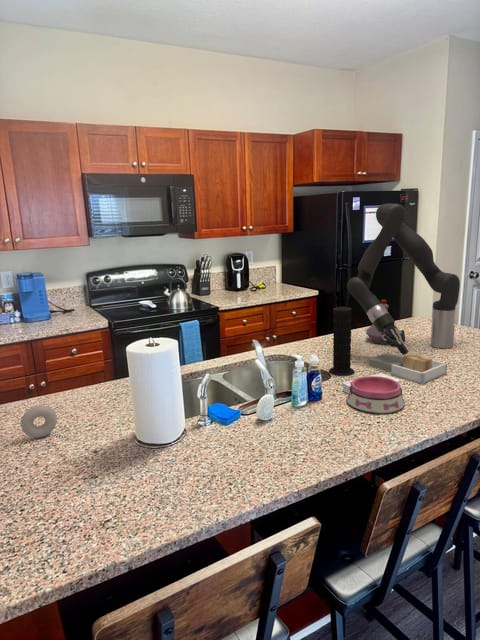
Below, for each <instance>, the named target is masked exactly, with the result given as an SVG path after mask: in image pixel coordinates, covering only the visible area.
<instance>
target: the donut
mask: <svg viewBox="0 0 480 640" xmlns="http://www.w3.org/2000/svg"><path fill="white" fill-rule="evenodd" d="M37 418H43V419H44V420H45V421H44V423H43V424H42V425H39V426H38V425H35V424H34V422H35V420H36V419H37ZM57 423H58V416H57V412H55V410H54V409H53V408H52V407H50V406H49V405H44V404H43V405H42V404H41V405H35V406H33V407H30V408H29V409H28V410H26V411H25V413H24V414H23V415H22V417H21V420H20V428H21V431H22V432H23V433H24V434H25V435H26V436H28V437H30V438H35V439H37V438H38V439H39V438H43V437H46V436H48V435H49V434H51V433H52V432H53V430H54V429H55V428H56V425H57Z"/></svg>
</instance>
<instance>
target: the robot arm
mask: <svg viewBox="0 0 480 640" xmlns="http://www.w3.org/2000/svg"><path fill="white" fill-rule="evenodd" d="M406 217H407V211H406V208H405V207H404V206H403V205H402V204H399V203H383V204H381V205H380V206H378V207H377V209H376V212H375V219H376V221H377V223H378V224H379V225H380V226H381V227H382V228H381V229H380V231H379V233H378V235H377V236H376V237H375V238H374V240H373V241H372V242H371V243H370V244H369V246H368V247H367V248H366V250H365V252H364V253H363V254H362V256H361V260H360V261H359V264H358V266H357V270H358V272H357V273H358V274H357V276H354V277H351V278H350V279H349V280H348V282H347V285H346V286H347V290H348V293H350V294H351V296H352V297H353V298H354V299H355V301H356V302H358V304H360V306H361V308H362V309H363V310H364V312H365V313H366V315H367V316H368V319H369V320H370V322H371V323H372V325H374V326H375V328H376V329H377V330H378V332H381V333H382V335H383V337H382V338H381V340H382V341H383V342H385V343H386V344H387V345H388V346H390V347H391V348H396V349H398V351H399V352H400V354H401V356H405V355H408V354H409V349H408V348H407V346H405V342H406V334H405V333H406V332H405V330H404V329H401V330H400V329H399V328H398V327H397V326H396V325H395V323H396V321H395V320H394V318H393V316H392V315H391V314H390V312H388V309H387V310H386V309H385V307H384V306H383V305H382V304H381V300H379V298H377V296H376V295H375V294H373V292H371V291H370V288H371V285H372V282H373V281H372V280H373V277H374V274H375V271H376V270H377V267H378V266H379V263H380V261H381V259H382V256H383V255H384V253H385V251H386V250H387V248H388V246H389V245H390V244H391V242H392V240H395V242H396V243H397V245H399V247H400V249H401V250H402V251H403V252H404V254H405V255H406V256H407V258H408V259H409V260H410V261H411V262H412V264H414V266H415V267H416V268H417V269H418V271H419V272H420V273H421V274H422V276H423V277H424V279H425V280H426V282H427V284H428V285H429V287H430V288H431V290H433V291H434V292H435V293H438V294H440V298H439V300H435V301H434V302H433V303H432V314H431V315H432V317H431V333H430V346H431V347H433V348H437V349H451V348H453V347H454V341H455V340H454V339H455V318H456V306H457V305H458V302H459V295H460V288H461V281H460V277H459V276H458V275H456V274H454V273H451V272H450V273H449V272H444V271H442V270H441V269H440V268H439V267H438V266H437V264H436V263H435V261H434V253H433V249H432V248H431V246H430V245H429V244H428V243H427V241H426V240H425V238H423V237H422V236H421V235H419V233H417V232H416V231H415V230H413V229H412V228H410V227H409V226H407V224H405V220H406ZM386 344H385V345H386Z"/></svg>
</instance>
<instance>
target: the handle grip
mask: <svg viewBox="0 0 480 640" xmlns="http://www.w3.org/2000/svg"><path fill="white" fill-rule="evenodd" d="M332 320H333V322H332V324H333V325H332V326H333V327H332V329H333V331H332V333H333V335H332V337H333V338H332V341H333V343H332V349H333V350H332V352H333V353H332V357H333V358H332V360H333V361H332V367H330V368H329V370H328V373H329V375H330V374H331V375H333V376H335V377H348V376H352V375H354V374H355V373H356V372H355V370H354V368H352V367H351V366H352V364H351V361H352V358H351V357H352V354H351V353H352V351H351V350H352V346H351V345H352V307H347V306H338V307H334V308H333V319H332Z"/></svg>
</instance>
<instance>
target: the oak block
mask: <svg viewBox="0 0 480 640" xmlns="http://www.w3.org/2000/svg"><path fill="white" fill-rule="evenodd" d="M402 357H403V367H404V368H408V369H411V370H415V371H418V372H424V371H427V370H429V369H432V360H433V358H431V357H426V356H423V355H419V354H414V353H407V354H405V355H402Z"/></svg>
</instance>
